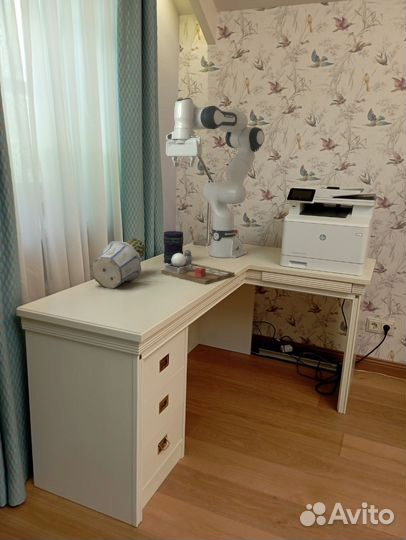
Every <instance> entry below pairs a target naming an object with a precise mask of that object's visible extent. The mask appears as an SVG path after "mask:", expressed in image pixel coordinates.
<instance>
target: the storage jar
mask: <svg viewBox="0 0 406 540" xmlns="http://www.w3.org/2000/svg"><path fill="white" fill-rule="evenodd" d="M163 247H164V251H163V263H164V264H166V263H168V264H172V261H171V259H172V257H173V255H174V254H176V253H181V254H183V255H184V250H183V249H184V248H183V247H184V232H183V231H179V230H168V231H164V232H163ZM168 264H167V265H168Z"/></svg>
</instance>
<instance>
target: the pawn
mask: <svg viewBox="0 0 406 540" xmlns="http://www.w3.org/2000/svg"><path fill="white" fill-rule="evenodd" d="M183 255H184V256H185V258H186V263H185V264H189V265H192V256H193V255H192V251H191V250H190V249H186V250H184V251H183Z"/></svg>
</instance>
